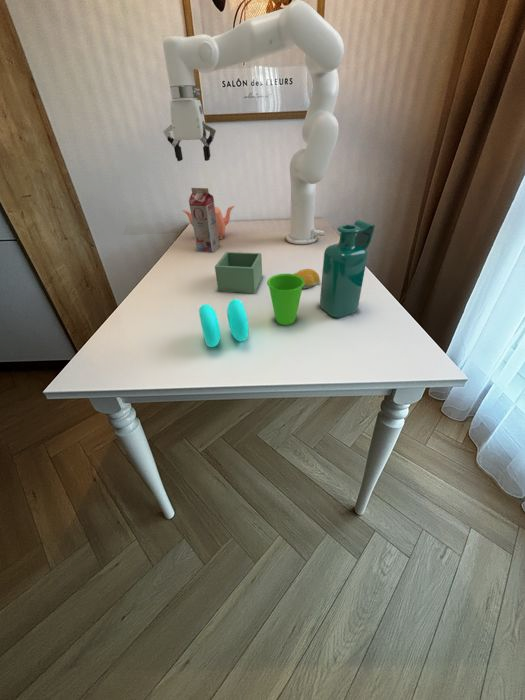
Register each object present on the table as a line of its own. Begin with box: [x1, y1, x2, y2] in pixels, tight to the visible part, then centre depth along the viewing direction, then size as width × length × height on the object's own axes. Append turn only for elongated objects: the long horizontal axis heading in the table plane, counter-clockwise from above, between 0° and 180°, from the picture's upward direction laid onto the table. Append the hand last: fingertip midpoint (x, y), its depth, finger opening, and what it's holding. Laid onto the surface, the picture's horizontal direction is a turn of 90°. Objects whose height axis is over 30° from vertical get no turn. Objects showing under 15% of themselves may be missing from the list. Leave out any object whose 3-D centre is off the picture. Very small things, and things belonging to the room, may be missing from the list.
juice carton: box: [188, 187, 220, 253], centre depth 118 cm, size 7×7×22 cm
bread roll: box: [293, 268, 321, 289], centre depth 97 cm, size 8×9×4 cm
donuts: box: [198, 298, 250, 348], centre depth 72 cm, size 10×10×10 cm
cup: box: [266, 273, 305, 326], centre depth 78 cm, size 9×9×11 cm
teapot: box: [181, 205, 236, 240], centre depth 132 cm, size 15×17×13 cm
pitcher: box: [319, 219, 376, 319], centre depth 78 cm, size 10×8×22 cm
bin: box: [214, 251, 263, 294], centre depth 96 cm, size 12×12×8 cm
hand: (193, 160), depth 104 cm, fingers open, 9 cm apart
